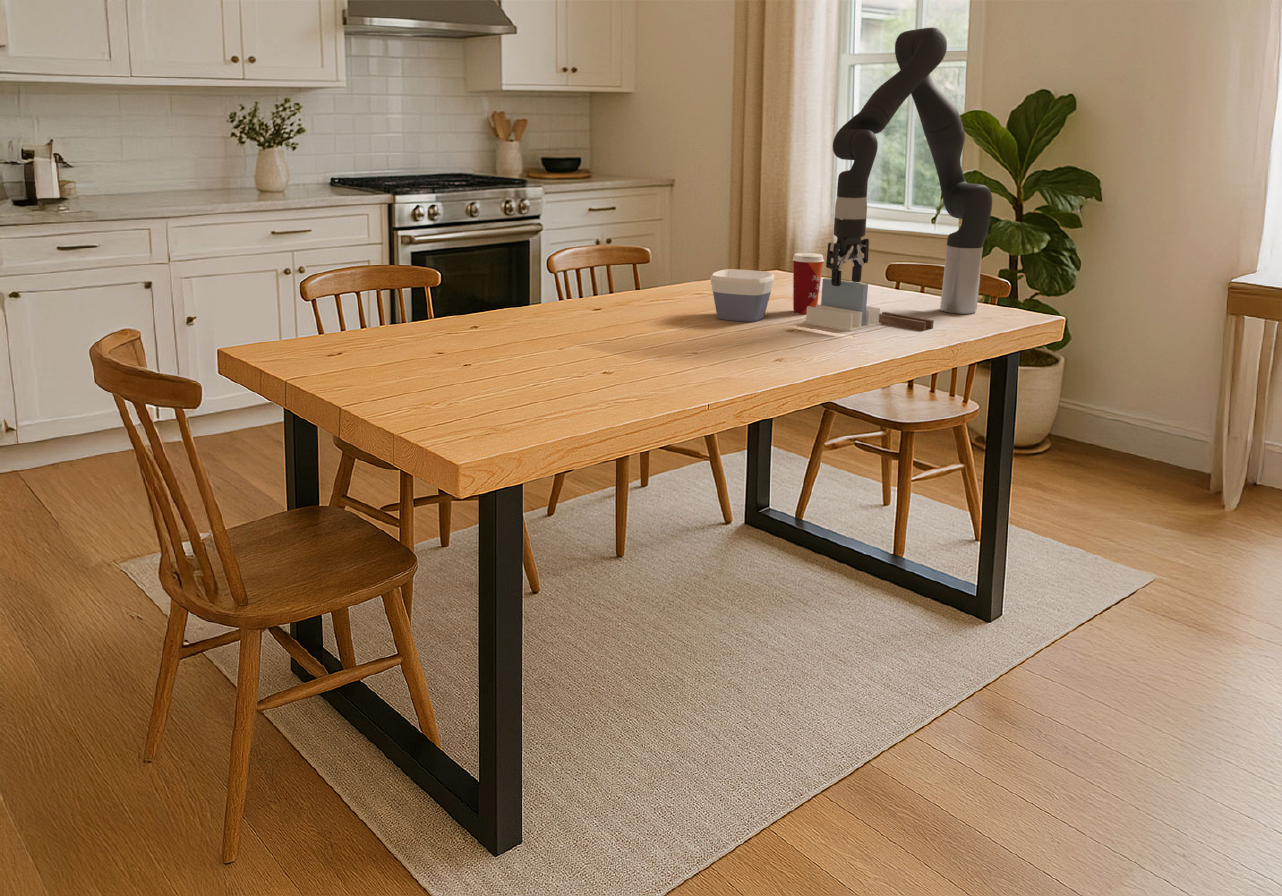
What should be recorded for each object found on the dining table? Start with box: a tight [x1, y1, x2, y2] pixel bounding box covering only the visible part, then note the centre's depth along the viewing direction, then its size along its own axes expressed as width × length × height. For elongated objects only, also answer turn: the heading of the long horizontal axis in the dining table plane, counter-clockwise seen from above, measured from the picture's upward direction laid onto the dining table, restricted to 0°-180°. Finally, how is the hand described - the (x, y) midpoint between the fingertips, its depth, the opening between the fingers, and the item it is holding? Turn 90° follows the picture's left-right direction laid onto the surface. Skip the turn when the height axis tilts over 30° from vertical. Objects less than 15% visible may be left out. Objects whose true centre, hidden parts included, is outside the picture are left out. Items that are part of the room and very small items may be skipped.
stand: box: [879, 311, 935, 332], centre depth 267 cm, size 5×14×3 cm, turn 45°
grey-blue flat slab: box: [820, 277, 869, 326], centre depth 266 cm, size 2×12×10 cm, turn 45°
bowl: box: [709, 268, 776, 323], centre depth 275 cm, size 15×15×11 cm
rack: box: [802, 304, 882, 332], centre depth 267 cm, size 13×14×5 cm
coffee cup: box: [791, 252, 825, 315], centre depth 284 cm, size 8×8×15 cm
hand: (846, 283), depth 265 cm, fingers open, 8 cm apart
